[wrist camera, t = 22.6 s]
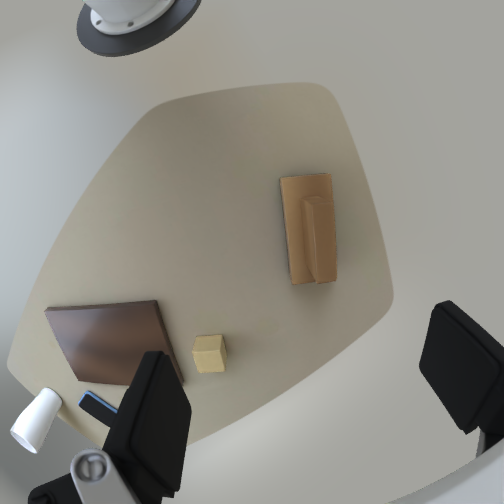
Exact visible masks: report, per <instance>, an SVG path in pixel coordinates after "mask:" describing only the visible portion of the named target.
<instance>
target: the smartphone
mask: <svg viewBox="0 0 504 504" xmlns="http://www.w3.org/2000/svg"><path fill="white" fill-rule="evenodd" d="M78 405H79V407H80V408H82V409H83V410H84V411H86V412H87V413H89V414H90V415H92V416H93V417H94V418H96V419H97V420H99V421H100V422H102V423H103V424H105V425H107V426H108V427H110V428H111V425H112V423H113V420H114V418H115V416H116V413H117V410H116V409H114V408H113V407H111V406H110V405H108V404H107V403H105V402H104V401H102V400H101V399H100V398H98V397H97V396H95V395H94V394H93V393H91V392H89V391H87V392H85V394H84V395H83V397H82V398H81V400H80V401H79V403H78Z"/></svg>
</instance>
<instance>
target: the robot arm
mask: <svg viewBox="0 0 504 504" xmlns="http://www.w3.org/2000/svg"><path fill="white" fill-rule="evenodd" d="M82 1H84V2H85V3H86V4H87V5H88V6H89V7H91V8H92V10H91V21H92V24H93V25H94V27H95V28H96V29H97V30H99V31H100V32H102V33H104V34H109V35H119V34H125V33H129V32H132V31H135V30H138V29H140V28H142V27H144V26H146V25H148V24H150V23H151V22H153V21H154V20H156V19H157V18H159V17H160V16H161V15H162V14H164V13H165V12H166V11H167V10H168V9H169V8H170V7H171V5H172V4H173V3H174V1H175V0H82ZM419 368H420V371H421V373H422V374H423V376H424V377H425V378H426V380H427V381H428V383H429V384H430V386H431V387H432V389H433V390H434V391H435V393H436V394H437V396H438V397H439V399H440V400H441V402H442V403H443V405H444V406H445V408H446V409H447V411H448V412H449V414H450V416H451V417H452V419H453V420H454V422H455V423H456V425H457V426H458V428H459V429H460V430H463V431H464V433H465V434H466V435H467V434H468V433H470V432H472V431H473V430H475V429H476V428H477V427H478V426H479V428H480V429H481V430H480V436H479V442H478V448H477V453H476V458H475V459H474V460H472V461H471V462H469V463H468V464H466V465H465V466H463V467H461V468H460V469H458V470H456V471H455V472H453V473H451V474H449V475H447V476H446V477H444V478H442V479H440V480H438V481H436V482H434V483H433V484H430V485H428V486H426V487H424V488H422V489H420V490H418V491H416V492H413V493H411V494H409V495H407V496H404V497H402V498H399V499H397V500H394V501H392V502H389V503H386V504H504V347H503V346H501V344H500V343H499V342H497V341H496V340H495V339H494V338H493V337H492V336H491V335H490V334H489V333H488V332H487V331H486V330H484V329H483V328H482V327H481V326H480V325H479V324H478V323H476V322H475V321H474V320H473V319H472V318H470V316H468V315H467V314H466V313H465V312H464V311H463V310H461V309H460V308H459V307H458V306H457V305H455V304H454V303H453V302H452V301H450V300H448V301H444V302H442V303H438V304H436V306H435V307H434V309H433V310H432V313H431V318H430V322H429V327H428V331H427V336H426V340H425V344H424V348H423V352H422V355H421V359H420V363H419ZM191 414H192V410H191V405H190V403H189V401H188V399H187V396H186V394H185V392H184V390H183V387H182V385H181V383H180V380H179V378H178V375H177V373H176V371H175V368H174V366H173V363H172V361H171V358H170V356H169V355H165V354H164V352H163V351H146V352H145V353H144V355H143V358H142V360H141V362H140V364H139V366H138V369H137V371H136V373H135V375H134V378H133V380H132V382H131V385H130V387H129V388H128V389H127V391H126V392H125V394H124V397H123V399H122V401H121V404H120V406H119V408H118V411H117V413H116V416H115V418H114V420H113V423H112V425H111V428H110V430H109V433H108V435H107V438H106V441H105V443H104V446H103V448H102V450H100V449H97V448H88V449H85V450H83V451H81V452H79V453H78V454H77V455H76V456H75V457H74V458H73V460H72V462H71V467H70V469H71V473H69V474H67V475H64V476H62V477H60V478H58V479H55V480H53V481H50V482H48V483H45V484H43V485H40V486H38V487H36V488H34V489H33V490H32V491H31V492H30V495H29V497H28V504H161V501H162V497H170V498H174V493H175V492H176V491H177V492H178V491H179V489H180V484H181V477H182V470H183V464H184V457H185V451H186V444H187V438H188V432H189V426H190V420H191Z"/></svg>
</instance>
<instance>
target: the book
mask: <svg viewBox="0 0 504 504" xmlns="http://www.w3.org/2000/svg"><path fill="white" fill-rule="evenodd" d="M44 312H45V314H46V317H47V319H48V321H49V324H50V326H51V328H52V331H53V333H54V335H55V337H56V339H57V341H58V343H59V345H60V347H61V349H62V351H63V353H64V355H65V357H66V359H67V361H68V363H69V365H70V367H71V368H72V370H73V372H74V374H75V375H76V377H77V379H78V381H83V382H92V383H102V384H114V385H129V386H130V385H131V382H132V380H133V378H134V375H135V373H136V371H137V369H138V366H139V364H140V362H141V360H142V358H143V355H144V353H145V352H146V351H163V352H164V354H165V355H169V356H170V358H171V361H172V363H173V366H174V368H175V371H176V373H177V375H178V378H179V380H180V383H181V385H182V386H183V383H184V380H183V378H182V375H181V372H180V370H179V367H178V364H177V362H176V359H175V356H174V353H173V351H172V348H171V345H170V342H169V339H168V336H167V333H166V330H165V327H164V324H163V321H162V318H161V315H160V311H159V308H158V305H157V301H156V300H153V301H141V302H130V303H117V304H103V305H88V306H71V307H52V308H47V309H46V310H45V311H44Z"/></svg>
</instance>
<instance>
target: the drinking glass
mask: <svg viewBox="0 0 504 504" xmlns="http://www.w3.org/2000/svg"><path fill="white" fill-rule="evenodd" d="M61 406H62V400H61V398H60V397H59V396H58V394H57V393H56V392H54V391H53V390H51V389H49V388H43V389H42V390H41V392H40V393H39V394H38V396H37V397H36V398H35V399H34V400H33V401H32V402H31V403H30V405H29V406H28V407H27V408H26V409H25V410H24V411H23V412H22V414H21V415H20V416H19V417H18V419H17V420H16V421H15V423H14V425H13V426H12V428H11V430H10V433H11V434H12V436H13V437H14V438H15V439H16V440H17V441H18V442H19V443H20V444H21V445H22V446H24V447H25V448H26V449H27V450H29V451H31V452H33V453H35V454H37V453H38V451H39V450H40V448H41V447H42V445H43V443H44V441H45V439H46V437H47V435H48V432H49V430H50V428H51V426H52V423H53V421H54V419H55V417H56V415H57V413H58V411H59V409H60V407H61Z"/></svg>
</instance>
